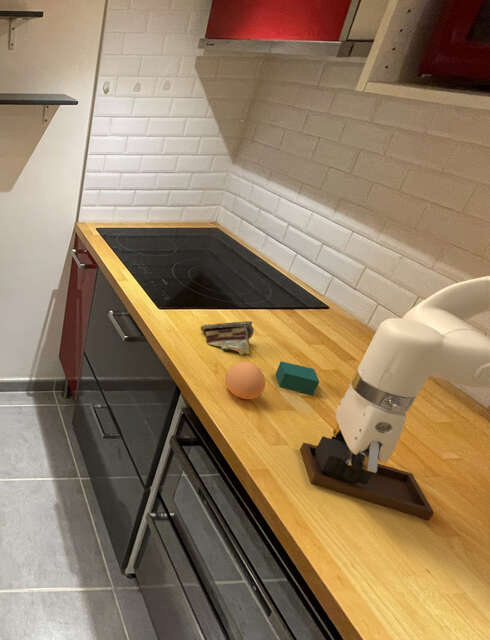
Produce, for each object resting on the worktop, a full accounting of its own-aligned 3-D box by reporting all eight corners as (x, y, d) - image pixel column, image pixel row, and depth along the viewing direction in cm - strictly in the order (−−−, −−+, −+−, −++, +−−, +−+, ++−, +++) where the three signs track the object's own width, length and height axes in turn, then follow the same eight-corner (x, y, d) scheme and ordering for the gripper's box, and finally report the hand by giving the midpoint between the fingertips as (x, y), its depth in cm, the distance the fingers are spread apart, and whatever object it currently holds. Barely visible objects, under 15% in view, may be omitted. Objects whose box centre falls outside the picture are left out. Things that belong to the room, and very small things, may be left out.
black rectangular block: (357, 463, 81) (366, 448, 80) (366, 484, 78) (376, 468, 76) (314, 451, 84) (322, 436, 82) (321, 471, 80) (329, 455, 78)
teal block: (307, 382, 104) (313, 368, 102) (313, 395, 100) (319, 381, 98) (275, 374, 106) (280, 361, 104) (279, 386, 102) (284, 373, 100)
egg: (219, 379, 104) (229, 350, 101) (256, 389, 101) (267, 359, 98) (222, 400, 98) (233, 370, 94) (261, 411, 95) (273, 380, 92)
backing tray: (407, 480, 81) (412, 473, 80) (428, 520, 74) (434, 512, 73) (299, 449, 86) (303, 442, 86) (310, 483, 80) (314, 476, 79)
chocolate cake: (197, 347, 116) (245, 333, 107) (197, 326, 120) (242, 312, 112) (220, 368, 118) (268, 357, 109) (218, 347, 122) (264, 335, 114)
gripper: (438, 435, 65) (385, 517, 72) (389, 364, 79) (349, 439, 86) (373, 418, 67) (329, 499, 75) (337, 353, 81) (303, 426, 89)
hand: (340, 466), depth 80 cm, fingers closed on black rectangular block, 4 cm apart
